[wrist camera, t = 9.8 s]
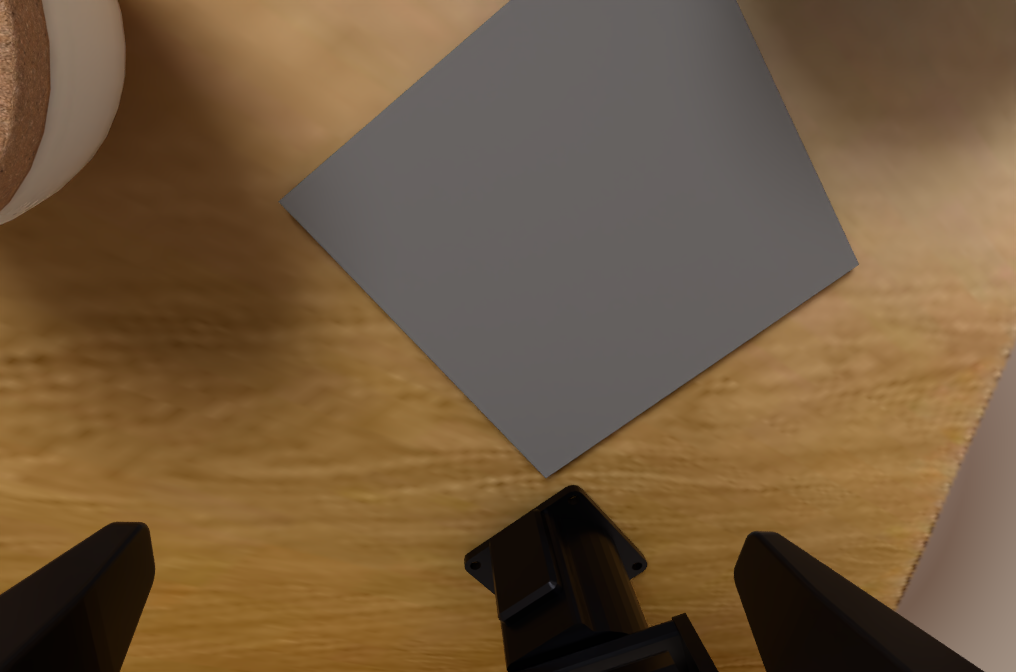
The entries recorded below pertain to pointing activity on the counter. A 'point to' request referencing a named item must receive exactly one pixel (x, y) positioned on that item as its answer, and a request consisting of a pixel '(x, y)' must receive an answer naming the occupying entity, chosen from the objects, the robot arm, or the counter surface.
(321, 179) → the mat
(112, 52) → the lidded jar
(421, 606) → the counter surface
